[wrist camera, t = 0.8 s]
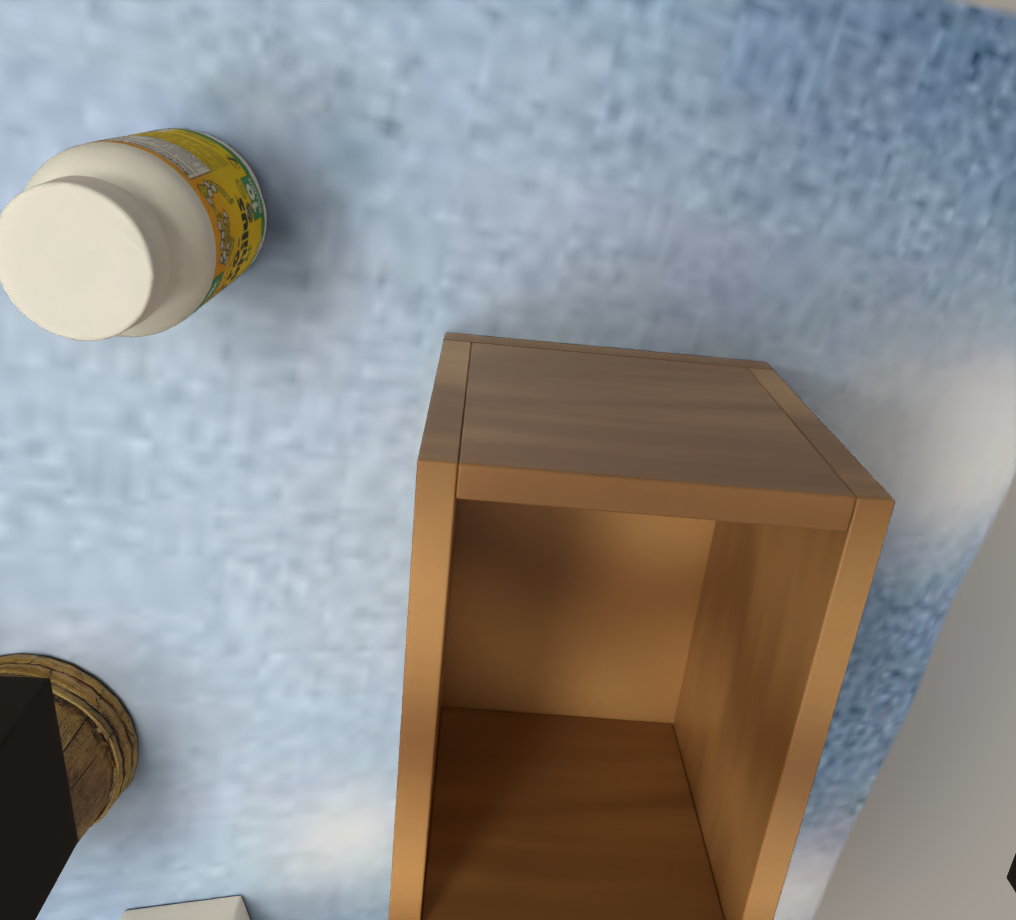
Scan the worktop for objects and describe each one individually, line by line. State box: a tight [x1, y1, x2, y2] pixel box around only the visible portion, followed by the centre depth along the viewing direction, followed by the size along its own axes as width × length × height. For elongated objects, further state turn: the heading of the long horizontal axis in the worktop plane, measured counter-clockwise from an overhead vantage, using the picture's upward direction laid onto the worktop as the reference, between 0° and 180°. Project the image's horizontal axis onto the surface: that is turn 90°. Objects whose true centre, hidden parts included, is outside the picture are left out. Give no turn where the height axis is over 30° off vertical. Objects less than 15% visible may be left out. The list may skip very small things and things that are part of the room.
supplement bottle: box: [0, 128, 267, 341], centre depth 27 cm, size 5×5×10 cm
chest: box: [389, 333, 895, 920], centre depth 31 cm, size 17×12×12 cm
